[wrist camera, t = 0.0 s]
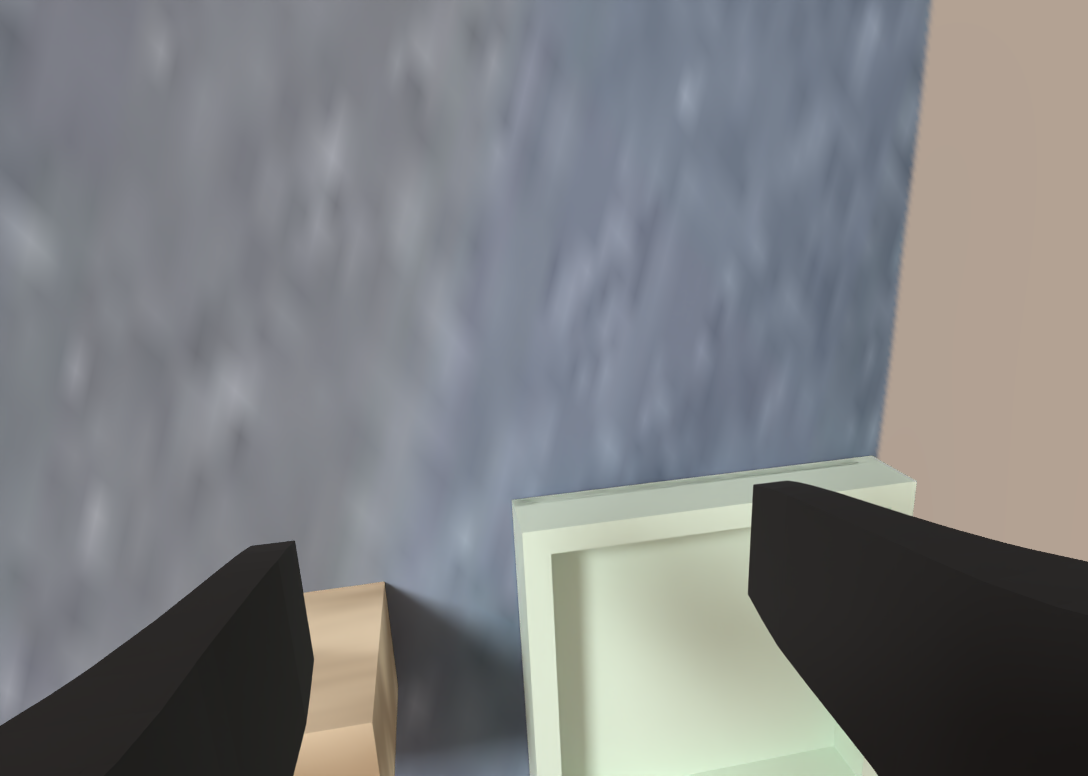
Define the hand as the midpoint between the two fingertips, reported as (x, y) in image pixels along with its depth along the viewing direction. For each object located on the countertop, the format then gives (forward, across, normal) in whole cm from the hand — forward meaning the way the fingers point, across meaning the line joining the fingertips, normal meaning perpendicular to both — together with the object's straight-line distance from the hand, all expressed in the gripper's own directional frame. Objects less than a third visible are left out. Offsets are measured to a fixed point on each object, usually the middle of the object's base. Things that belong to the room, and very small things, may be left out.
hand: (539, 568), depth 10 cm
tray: (+10, -7, +10) cm, 16 cm away
